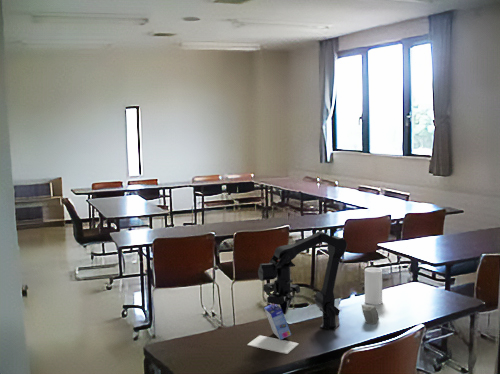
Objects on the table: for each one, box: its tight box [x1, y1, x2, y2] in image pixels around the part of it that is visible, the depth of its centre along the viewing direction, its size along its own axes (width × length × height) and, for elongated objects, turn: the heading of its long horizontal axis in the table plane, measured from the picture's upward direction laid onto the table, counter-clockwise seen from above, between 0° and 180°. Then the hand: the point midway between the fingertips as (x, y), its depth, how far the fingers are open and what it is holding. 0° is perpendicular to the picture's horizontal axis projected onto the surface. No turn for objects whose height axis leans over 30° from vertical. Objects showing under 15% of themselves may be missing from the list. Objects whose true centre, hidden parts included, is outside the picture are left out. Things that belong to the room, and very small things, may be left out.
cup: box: [364, 266, 383, 306], centre depth 257 cm, size 8×8×16 cm
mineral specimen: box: [361, 304, 380, 325], centre depth 232 cm, size 7×9×8 cm
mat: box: [246, 334, 299, 355], centre depth 213 cm, size 10×18×1 cm, turn 59°
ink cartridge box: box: [263, 303, 292, 340], centre depth 220 cm, size 10×6×14 cm, turn 15°
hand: (284, 313), depth 222 cm, fingers closed
